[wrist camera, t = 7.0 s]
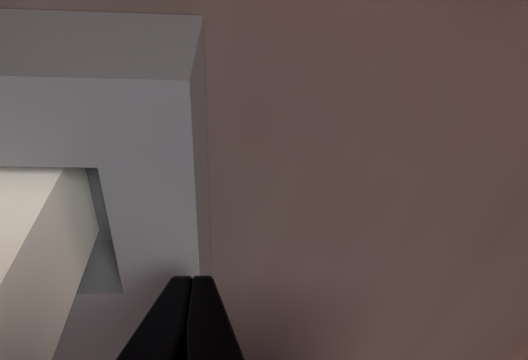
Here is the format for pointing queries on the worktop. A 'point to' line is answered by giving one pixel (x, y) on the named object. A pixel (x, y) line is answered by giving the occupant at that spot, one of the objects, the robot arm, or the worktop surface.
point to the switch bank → (114, 151)
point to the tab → (41, 255)
